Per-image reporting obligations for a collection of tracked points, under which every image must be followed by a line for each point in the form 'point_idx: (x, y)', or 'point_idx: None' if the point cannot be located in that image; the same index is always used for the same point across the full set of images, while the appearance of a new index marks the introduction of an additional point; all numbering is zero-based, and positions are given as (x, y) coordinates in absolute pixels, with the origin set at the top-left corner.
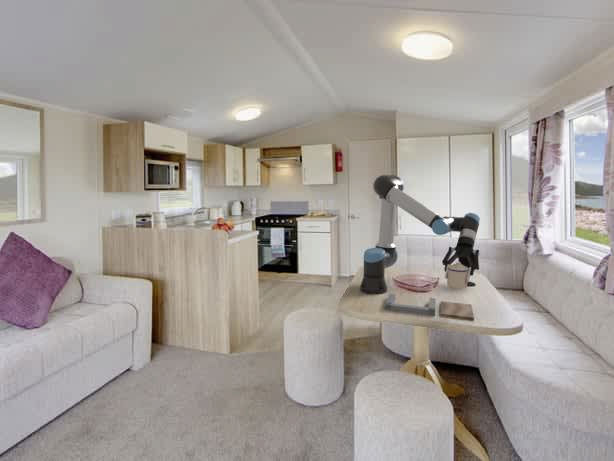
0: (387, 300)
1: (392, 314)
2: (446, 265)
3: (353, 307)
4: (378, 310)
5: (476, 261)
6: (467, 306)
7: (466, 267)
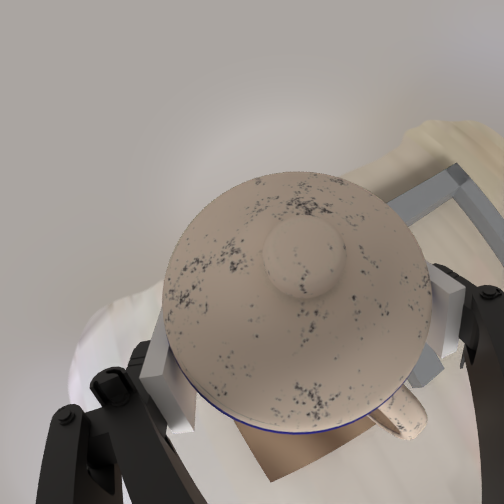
0: (485, 198)
1: (407, 158)
2: (469, 293)
3: (483, 136)
4: (448, 157)
5: (61, 481)
6: (270, 444)
7: (190, 334)
